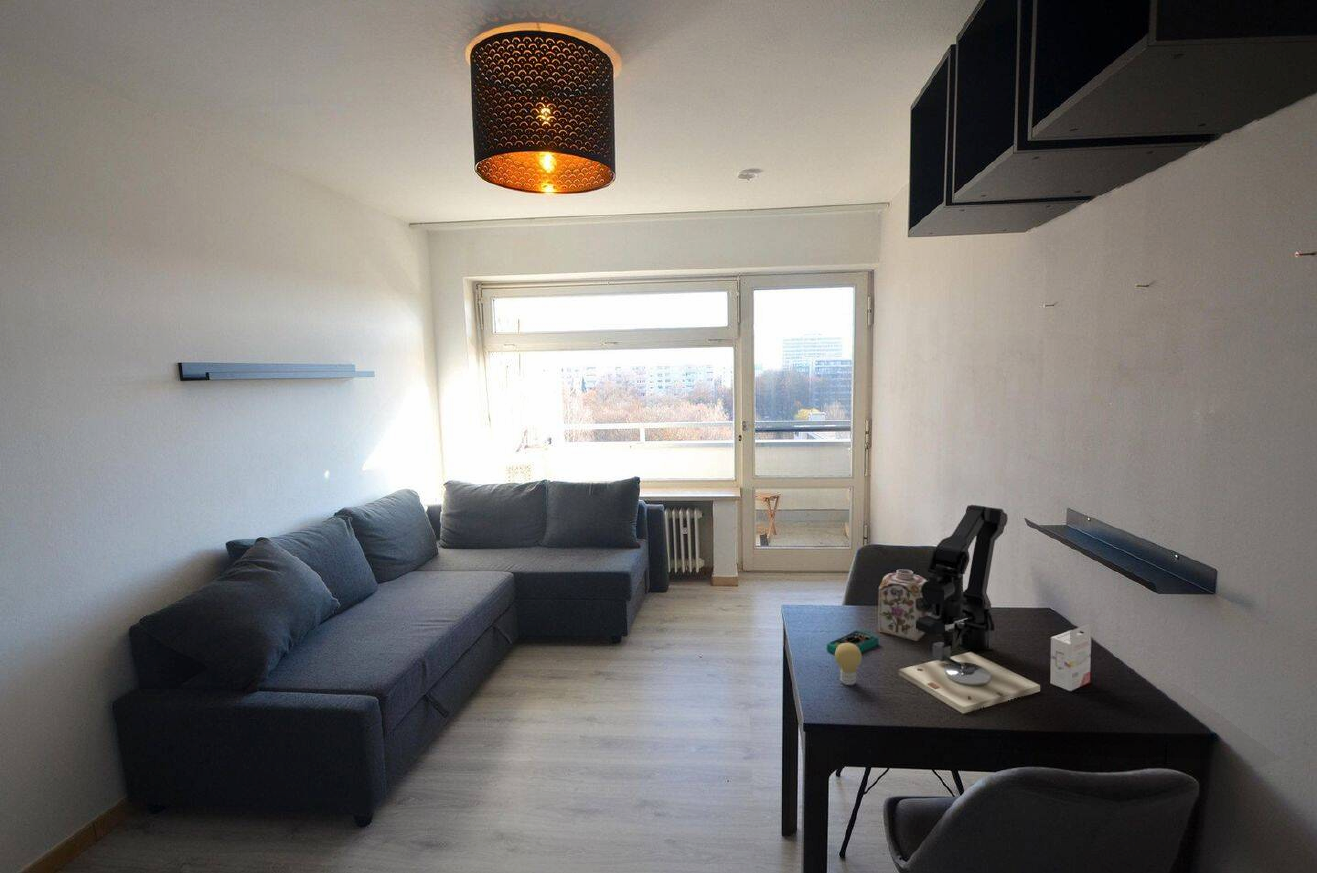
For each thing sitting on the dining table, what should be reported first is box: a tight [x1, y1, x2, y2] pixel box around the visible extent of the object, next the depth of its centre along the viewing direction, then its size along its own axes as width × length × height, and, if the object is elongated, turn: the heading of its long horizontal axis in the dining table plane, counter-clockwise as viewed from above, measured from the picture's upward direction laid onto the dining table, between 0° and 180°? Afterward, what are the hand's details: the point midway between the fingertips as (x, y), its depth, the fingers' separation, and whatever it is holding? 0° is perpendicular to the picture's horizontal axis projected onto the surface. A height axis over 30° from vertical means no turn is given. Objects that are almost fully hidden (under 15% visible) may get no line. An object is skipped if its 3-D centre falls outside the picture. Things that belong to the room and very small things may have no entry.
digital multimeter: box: [826, 629, 879, 655], centre depth 176 cm, size 7×15×3 cm, turn 128°
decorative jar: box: [877, 568, 932, 642], centre depth 186 cm, size 12×12×18 cm
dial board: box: [898, 651, 1041, 715], centre depth 155 cm, size 24×20×2 cm
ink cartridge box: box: [1050, 624, 1092, 692], centre depth 152 cm, size 9×5×15 cm, turn 117°
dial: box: [931, 641, 991, 686], centre depth 156 cm, size 14×10×5 cm
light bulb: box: [834, 643, 863, 686], centre depth 156 cm, size 6×6×10 cm
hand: (949, 651), depth 163 cm, fingers closed
